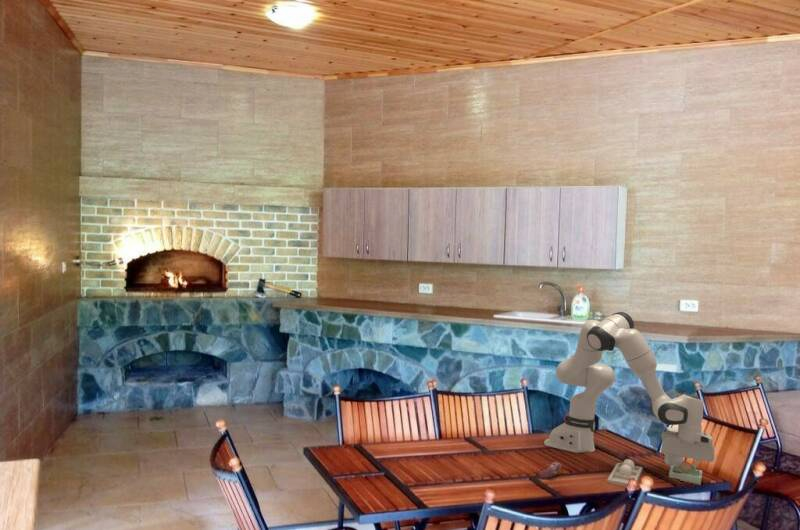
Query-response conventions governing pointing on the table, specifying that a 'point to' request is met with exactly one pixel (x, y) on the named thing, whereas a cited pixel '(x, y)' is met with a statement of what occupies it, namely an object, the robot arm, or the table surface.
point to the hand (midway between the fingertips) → (686, 468)
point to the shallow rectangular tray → (621, 479)
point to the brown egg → (686, 467)
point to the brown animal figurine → (551, 470)
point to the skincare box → (670, 458)
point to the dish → (686, 475)
